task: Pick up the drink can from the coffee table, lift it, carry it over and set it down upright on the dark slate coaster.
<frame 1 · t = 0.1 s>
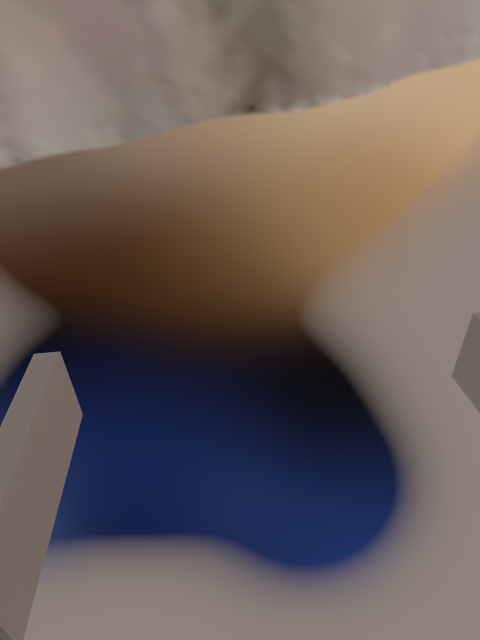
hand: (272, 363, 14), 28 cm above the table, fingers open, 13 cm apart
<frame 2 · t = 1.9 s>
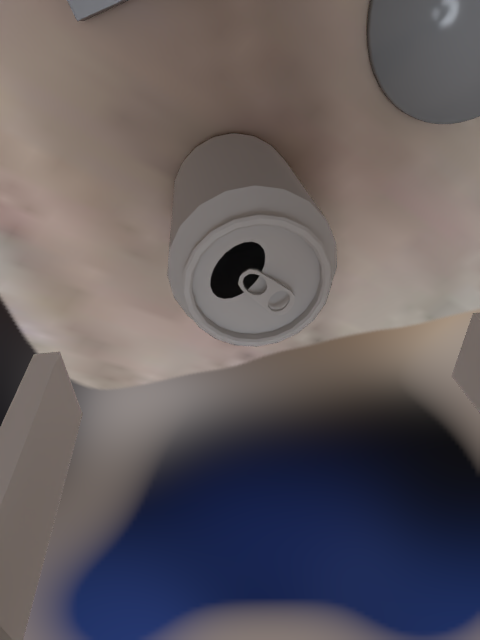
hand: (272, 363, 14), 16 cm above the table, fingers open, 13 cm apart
coaster: (468, 9, 22), on the table
can: (232, 192, 27), on the table
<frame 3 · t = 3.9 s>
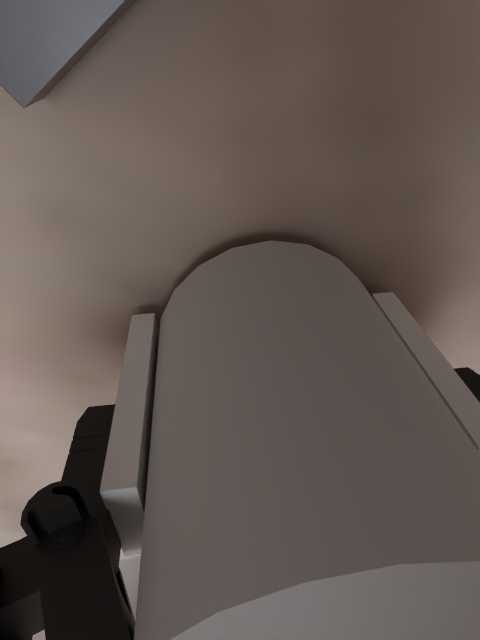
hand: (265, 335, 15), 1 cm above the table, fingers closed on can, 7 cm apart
can: (261, 321, 16), on the table, touching gripper
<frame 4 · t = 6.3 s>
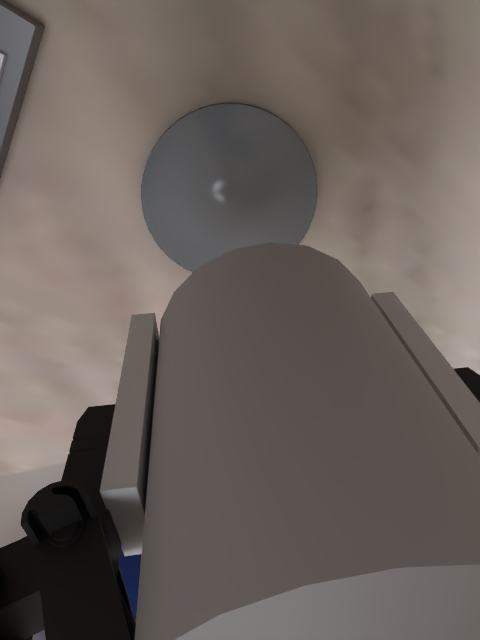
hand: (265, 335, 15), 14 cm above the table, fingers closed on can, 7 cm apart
coaster: (230, 199, 27), on the table
can: (261, 322, 16), point 14 cm above the table, touching gripper
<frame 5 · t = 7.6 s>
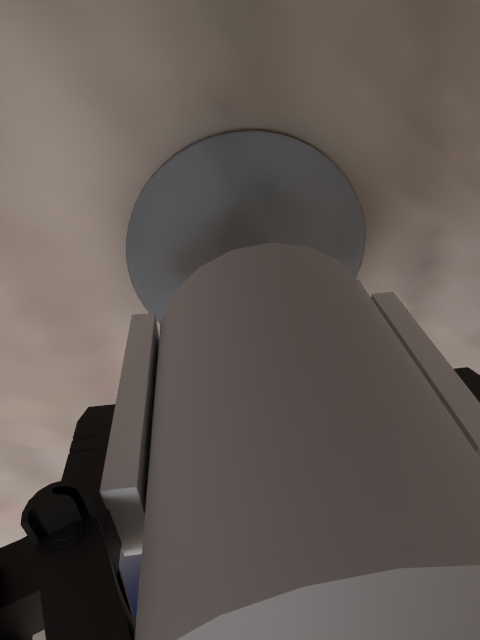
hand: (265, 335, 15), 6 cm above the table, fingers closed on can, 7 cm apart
coaster: (246, 254, 20), on the table
can: (261, 322, 16), point 5 cm above the table, touching gripper
when the fingers open (3 cm above the table, at t = 8.7 s): can drops 1 cm, resting on coaster.
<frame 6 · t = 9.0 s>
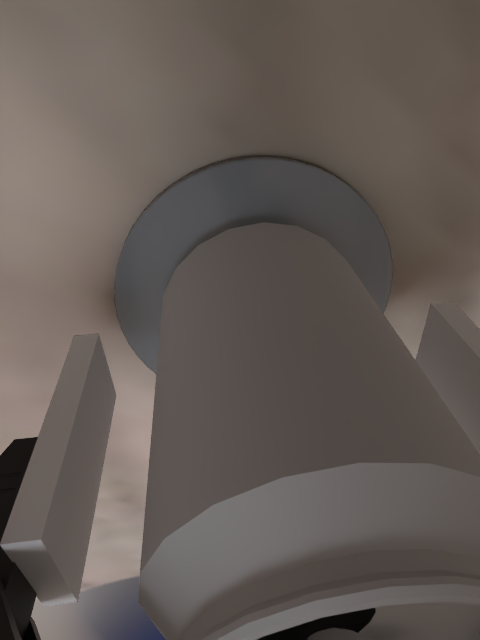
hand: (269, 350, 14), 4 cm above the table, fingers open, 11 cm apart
coaster: (254, 295, 17), on the table
can: (256, 300, 17), resting on coaster
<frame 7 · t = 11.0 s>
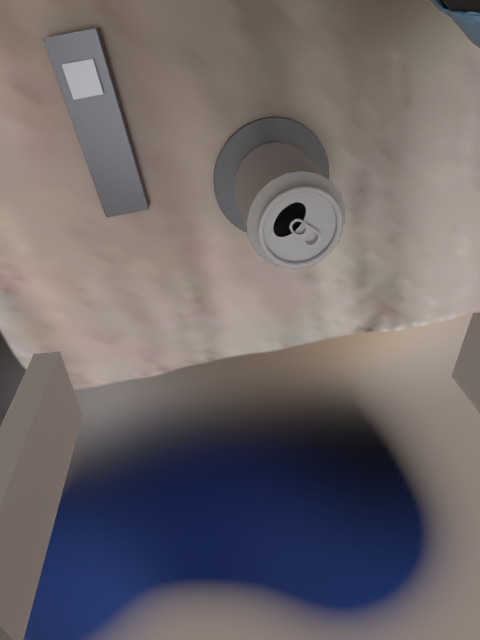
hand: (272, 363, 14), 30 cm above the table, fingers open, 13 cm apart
coaster: (270, 180, 40), on the table
remote: (105, 129, 37), on the table
can: (271, 181, 40), resting on coaster
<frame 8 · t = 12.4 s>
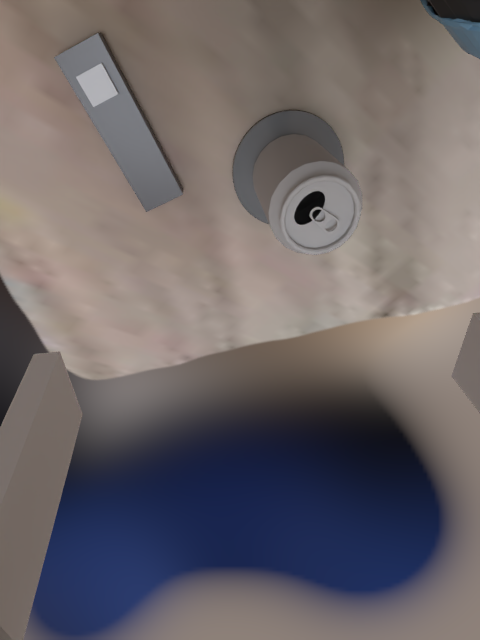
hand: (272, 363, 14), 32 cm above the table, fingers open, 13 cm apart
coaster: (287, 171, 42), on the table
remote: (127, 128, 38), on the table
can: (288, 172, 41), resting on coaster
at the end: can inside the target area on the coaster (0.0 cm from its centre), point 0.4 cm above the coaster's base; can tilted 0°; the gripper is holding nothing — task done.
